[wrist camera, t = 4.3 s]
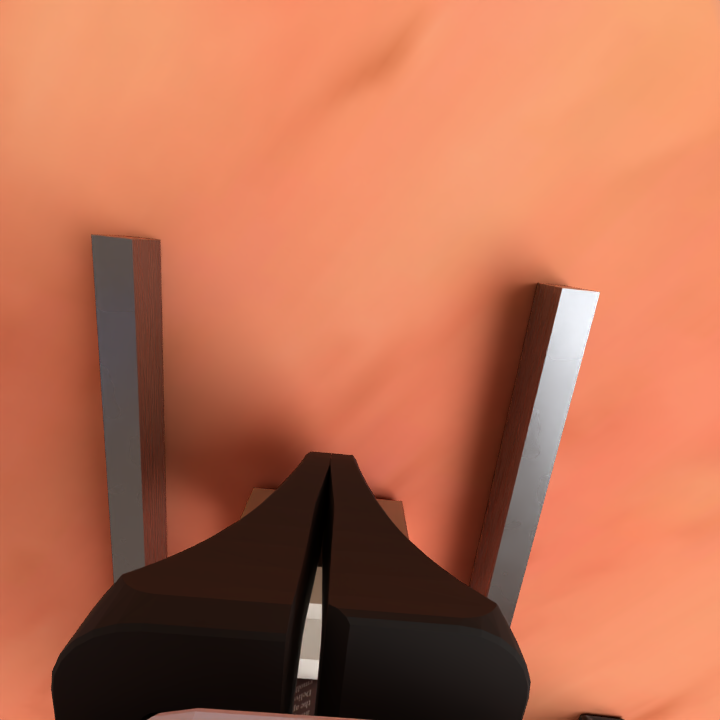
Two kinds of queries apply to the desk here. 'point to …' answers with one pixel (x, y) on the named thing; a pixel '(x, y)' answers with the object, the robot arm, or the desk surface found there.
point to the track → (146, 416)
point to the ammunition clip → (595, 718)
